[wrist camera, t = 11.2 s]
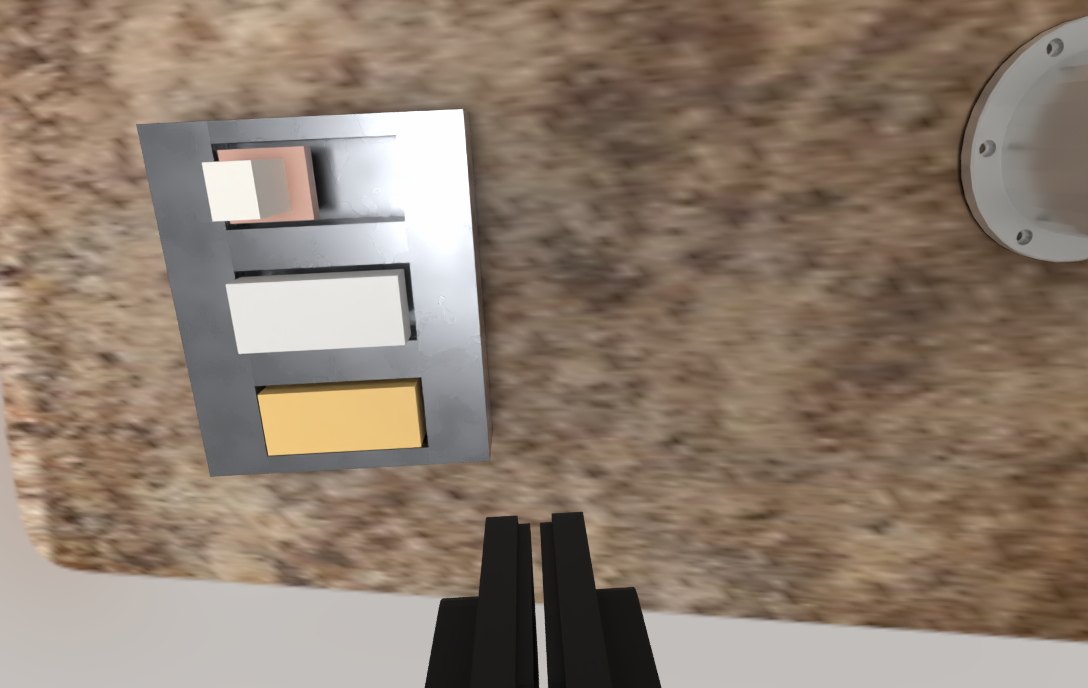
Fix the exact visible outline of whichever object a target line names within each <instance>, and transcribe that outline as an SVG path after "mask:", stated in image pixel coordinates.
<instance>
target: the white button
mask: <svg viewBox="0 0 1088 688" xmlns="http://www.w3.org/2000/svg"><path fill="white" fill-rule="evenodd" d="M226 290H227V295H228V301H229V306H230V311H231V317H232V322H233V327H234V333H235V338H236V344H237V349H238V354H246V353H265V352H284V351H303V350H322V349H341V348H359V347H378V346H397V345H406V343H407V341H408V339H409V338H410V336H411V329H410V320H409V311H408V301H407V292H406V282H405V273H404V269H390V270H370V271H351V272H331V273H311V274H291V275H272V276H252V277H240V278H238V279H236V280H234V281H232V282H230V283H227V284H226Z"/></svg>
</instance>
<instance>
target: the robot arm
mask: <svg viewBox="0 0 1088 688" xmlns="http://www.w3.org/2000/svg"><path fill="white" fill-rule="evenodd" d="M979 148H980V150H979ZM961 179H962V184H963V188H964V193H965V198H966V201H967V203H968V205H969V207H970V210H971V212H972V214H973V217H974V218H975V219H976V221H977V222H978V224H979V225H980V226H981V228H982V229H983V230H984V232H985V233H986V234H987V235H989V236H990V237H991V238H992V239H993V240H994V241H996V242H997V243H998V244H999V245H1001V246H1003V247H1005V248H1007V249H1008V250H1010V251H1012V252H1014V253H1016V254H1019V255H1023V256H1027V257H1031V258H1034V259H1039V260H1046V261H1052V262H1071V261H1081V260H1085V259H1088V16H1086V17H1082V18H1079V19H1075V20H1071V21H1067V22H1064V23H1062V24H1060V25H1057V26H1055V27H1053V28H1051V29H1049V30H1047V31H1044V32H1042V33H1041V34H1039V35H1038V36H1036V37H1035V38H1033V39H1032V40H1030V41H1029V42H1027V43H1026V44H1024V45H1023V46H1022V47H1020V48H1019V49H1018V50H1017V51H1016V52H1015V53H1014V54H1013V55H1012V56H1011V57H1010V58H1009V59H1008V60H1007V61H1005V62H1004V63H1003V64H1002V65H1001V67H1000V68H999V69H998V71H997V72H996V73H995V74H994V76H993V77H992V78H991V80H990V81H989V82H988V83H987V85H986V86H985V88H984V90H983V92H982V94H981V95H980V97H979V99H978V101H977V103H976V105H975V106H974V108H973V111H972V114H971V117H970V119H969V122H968V125H967V128H966V131H965V135H964V141H963V147H962V153H961ZM540 533H541V553H542V573H543V593H544V612H545V633H546V652H547V673H548V688H661V685H660V680H659V677H658V673H657V669H656V665H655V661H654V657H653V653H652V649H651V645H650V642H649V638H648V634H647V630H646V626H645V622H644V619H643V614H642V611H641V607H640V603H639V599H638V595H637V592H636V589H635V588H634V587H627V588H610V589H596V588H595V582H594V576H593V570H592V564H591V558H590V552H589V546H588V540H587V534H586V528H585V522H584V516H583V512H570V513H553V514H552V522H544V523H540ZM538 673H539V671H538V652H537V634H536V616H535V599H534V582H533V565H532V548H531V531H530V523H527V524H518V517H517V516H501V517H487V518H486V523H485V534H484V544H483V555H482V566H481V576H480V587H479V596H476V597H459V598H443V599H442V600H441V601H440V605H439V611H438V616H437V622H436V627H435V633H434V638H433V644H432V649H431V655H430V661H429V666H428V672H427V678H426V683H425V688H539V674H538Z"/></svg>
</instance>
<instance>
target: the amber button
mask: <svg viewBox="0 0 1088 688" xmlns="http://www.w3.org/2000/svg"><path fill="white" fill-rule="evenodd" d="M258 401H259V406H260V412H261V417H262V423H263V428H264V434H265V439H266V445H267V451H268V456H270V455H288V454H306V453H324V452H342V451H360V450H378V449H396V448H414V447H421V446H422V443H423V440H424V437H425V434H426V430H425V420H424V411H423V401H422V392H421V382H420V377H415V378H397V379H378V380H360V381H341V382H322V383H304V384H285V385H267V386H266V387H265V388H264V389H263V390H262V391H261V392H260V393H259V394H258Z"/></svg>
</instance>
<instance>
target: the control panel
mask: <svg viewBox="0 0 1088 688" xmlns="http://www.w3.org/2000/svg"><path fill="white" fill-rule="evenodd" d="M136 125H137V130H138V135H139V139H140V144H141V149H142V154H143V158H144V163H145V168H146V173H147V177H148V182H149V187H150V192H151V196H152V201H153V206H154V211H155V215H156V220H157V225H158V230H159V234H160V239H161V244H162V249H163V253H164V258H165V263H166V268H167V272H168V277H169V282H170V287H171V291H172V296H173V301H174V306H175V310H176V315H177V320H178V325H179V330H180V334H181V339H182V344H183V349H184V353H185V358H186V363H187V368H188V372H189V377H190V382H191V387H192V391H193V396H194V401H195V406H196V410H197V415H198V420H199V425H200V429H201V434H202V439H203V444H204V448H205V453H206V458H207V463H208V467H209V472H210V477H214V476H232V475H250V474H268V473H286V472H304V471H321V470H339V469H357V468H375V467H393V466H411V465H428V464H446V463H464V462H482V461H490V453H491V443H492V433H493V427H492V414H491V400H490V386H489V373H488V359H487V345H486V332H485V318H484V304H483V291H482V277H481V264H480V250H479V236H478V223H477V209H476V195H475V182H474V168H473V154H472V141H471V127H470V113H469V112H467V111H465V110H464V109H457V110H435V111H414V112H392V113H370V114H349V115H327V116H306V117H284V118H262V119H241V120H219V121H198V122H176V123H154V124H136ZM296 146H310V150H311V157H312V164H313V171H314V178H315V185H316V192H317V200H318V207H319V214H320V218H317V219H315V220H297V221H277V222H257V223H236V224H230V221H212V216H211V210H210V205H209V199H208V194H207V189H206V183H205V178H204V173H203V167H202V163H203V162H219V157H218V152H217V150H232V149H254V148H275V147H296ZM390 269H404V273H405V282H406V292H407V301H408V311H409V320H410V329H411V336H410V338H409V339H408V341H407V343H406V345H397V346H378V347H359V348H341V349H322V350H303V351H284V352H265V353H246V354H238V349H237V344H236V338H235V333H234V327H233V322H232V317H231V311H230V306H229V301H228V295H227V290H226V284H227V283H230V282H232V281H234V280H236V279H238V278H240V277H252V276H272V275H291V274H311V273H331V272H351V271H370V270H390ZM415 377H420V382H421V392H422V401H423V411H424V420H425V430H426V434H425V437H424V440H423V443H422V446H421V447H414V448H396V449H378V450H360V451H342V452H324V453H306V454H288V455H270V456H268V451H267V445H266V439H265V434H264V428H263V423H262V417H261V412H260V406H259V401H258V394H259V393H260V392H261V391H262V390H263V389H264V388H265V387H266V386H267V385H285V384H304V383H322V382H341V381H360V380H378V379H397V378H415Z"/></svg>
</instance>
